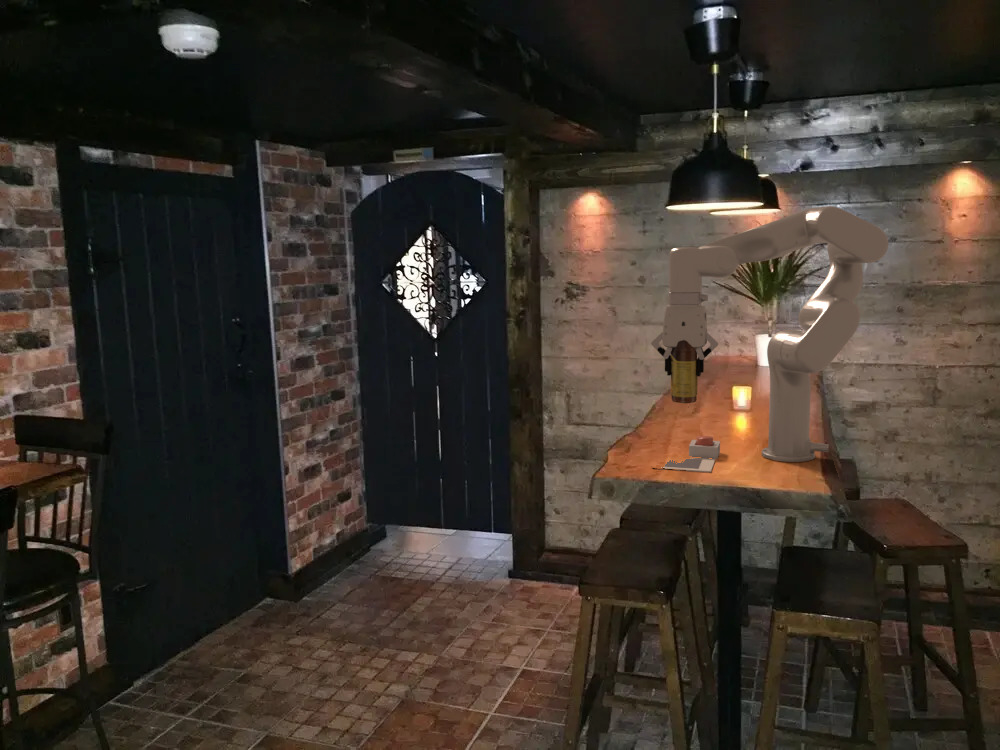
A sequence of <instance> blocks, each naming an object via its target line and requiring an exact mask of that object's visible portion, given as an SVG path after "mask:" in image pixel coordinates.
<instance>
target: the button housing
mask: <svg viewBox="0 0 1000 750" xmlns="http://www.w3.org/2000/svg"><path fill="white" fill-rule="evenodd" d="M719 453H720V454H721V441H720V440H713V446H703V445H697V439H691V442H689V445H688V457H689V456H692V457H701V458H712V459H715V460H719V457H718V456H720V454H719Z"/></svg>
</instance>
